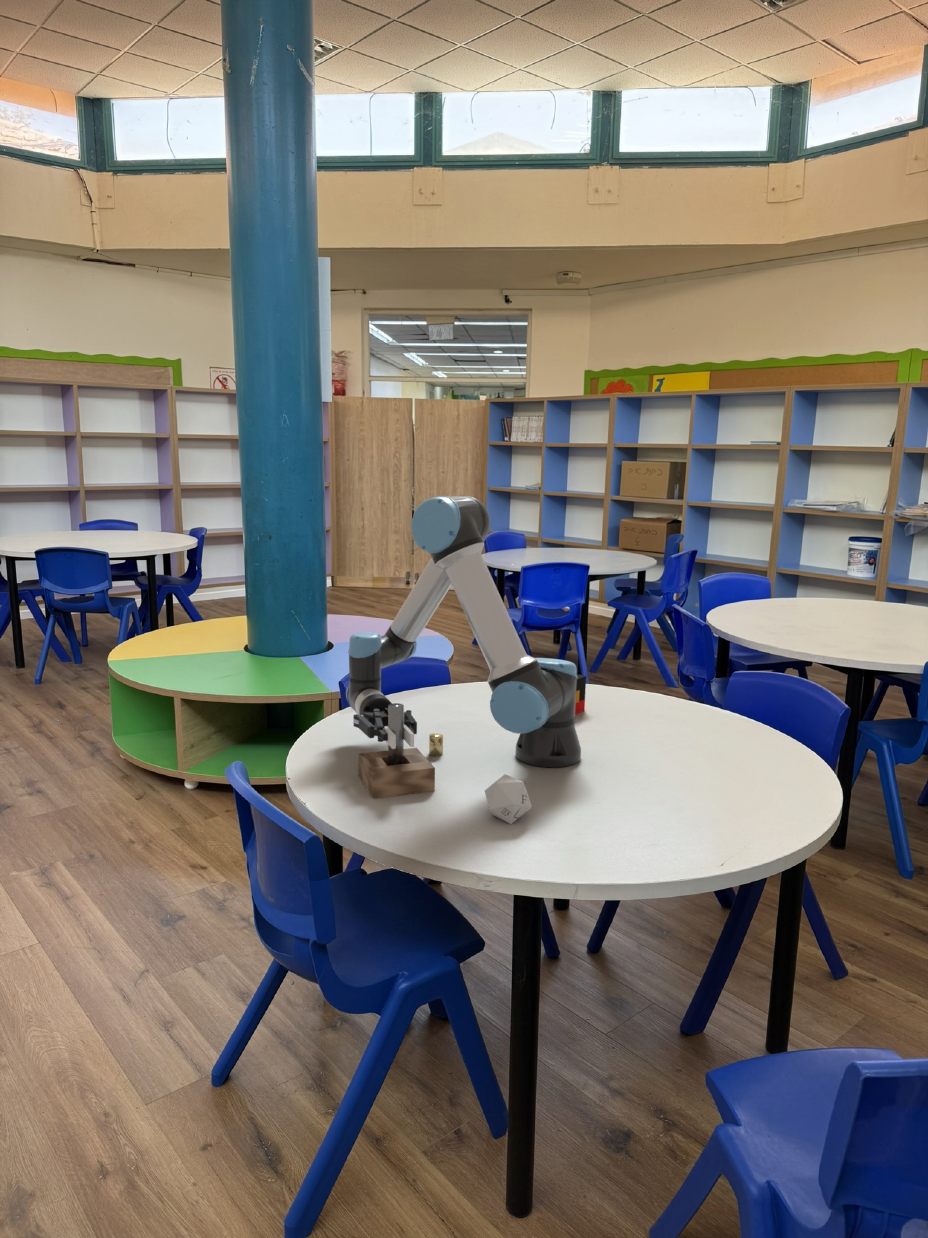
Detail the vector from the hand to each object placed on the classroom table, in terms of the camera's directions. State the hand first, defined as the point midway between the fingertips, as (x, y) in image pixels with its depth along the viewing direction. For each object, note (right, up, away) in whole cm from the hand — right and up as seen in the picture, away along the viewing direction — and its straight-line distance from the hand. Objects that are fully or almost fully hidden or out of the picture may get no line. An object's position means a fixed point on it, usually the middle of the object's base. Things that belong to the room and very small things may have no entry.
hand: (403, 741), depth 166 cm
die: (+21, -13, -9) cm, 26 cm away
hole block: (-2, -10, +7) cm, 12 cm away
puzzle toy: (+39, -1, +62) cm, 73 cm away
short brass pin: (+6, -7, +26) cm, 27 cm away
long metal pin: (-2, -7, +6) cm, 10 cm away
